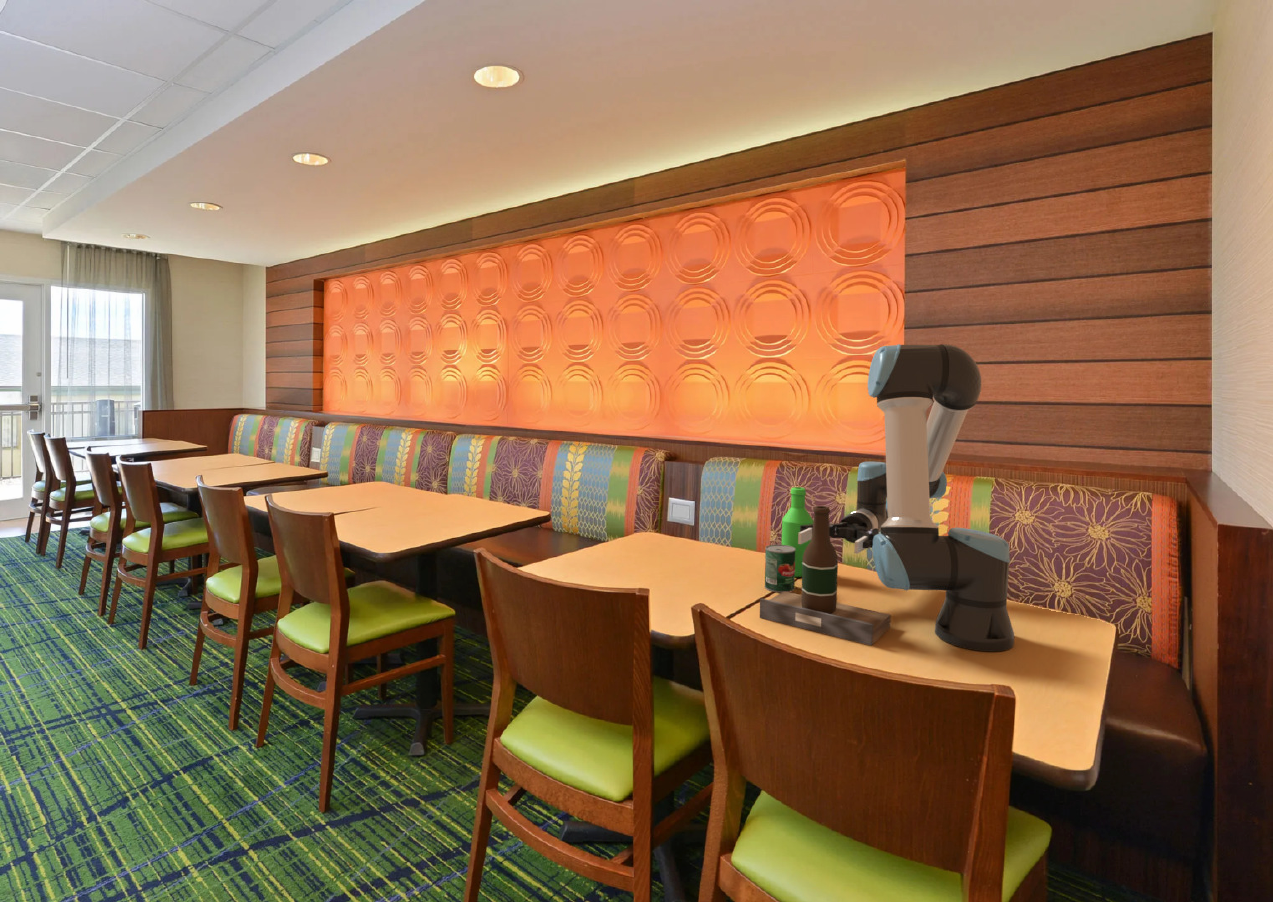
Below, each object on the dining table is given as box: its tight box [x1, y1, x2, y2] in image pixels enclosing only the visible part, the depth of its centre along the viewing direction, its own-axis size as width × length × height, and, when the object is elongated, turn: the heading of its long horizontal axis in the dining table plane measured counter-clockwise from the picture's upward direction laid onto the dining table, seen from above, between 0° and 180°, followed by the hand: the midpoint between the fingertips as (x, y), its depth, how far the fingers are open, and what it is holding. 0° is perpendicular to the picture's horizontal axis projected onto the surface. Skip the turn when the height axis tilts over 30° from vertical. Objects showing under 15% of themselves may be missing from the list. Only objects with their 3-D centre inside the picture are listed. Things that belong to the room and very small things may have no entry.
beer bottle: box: [801, 505, 839, 614], centre depth 147 cm, size 8×8×24 cm
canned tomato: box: [764, 544, 796, 594], centre depth 172 cm, size 8×8×11 cm
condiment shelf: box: [759, 591, 892, 646], centre depth 148 cm, size 26×13×4 cm, turn 52°
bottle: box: [781, 486, 814, 578], centre depth 184 cm, size 9×9×25 cm
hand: (827, 543), depth 150 cm, fingers open, 13 cm apart
